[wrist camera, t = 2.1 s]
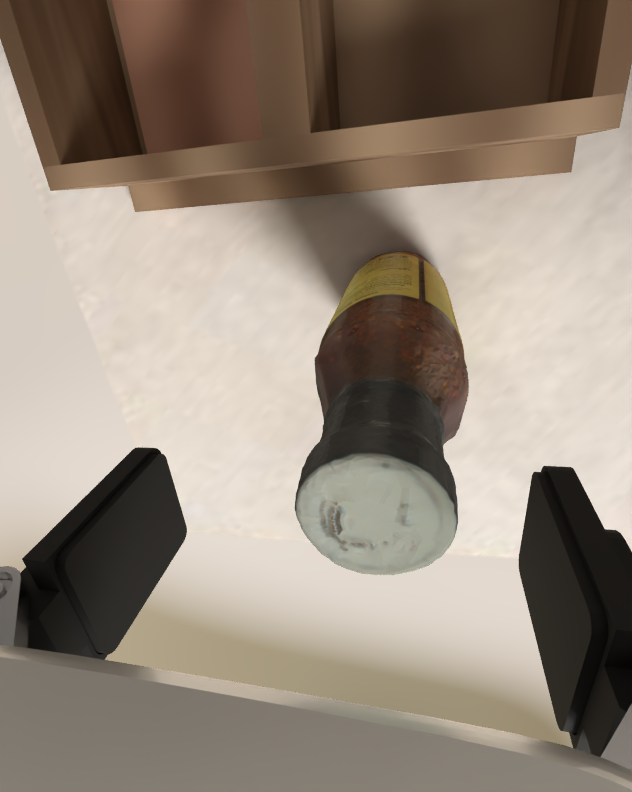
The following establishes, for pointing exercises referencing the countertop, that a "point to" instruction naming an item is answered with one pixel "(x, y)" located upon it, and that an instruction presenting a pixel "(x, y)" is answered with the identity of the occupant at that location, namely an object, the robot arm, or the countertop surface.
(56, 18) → the caddy
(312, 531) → the sauce bottle
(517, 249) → the countertop surface
